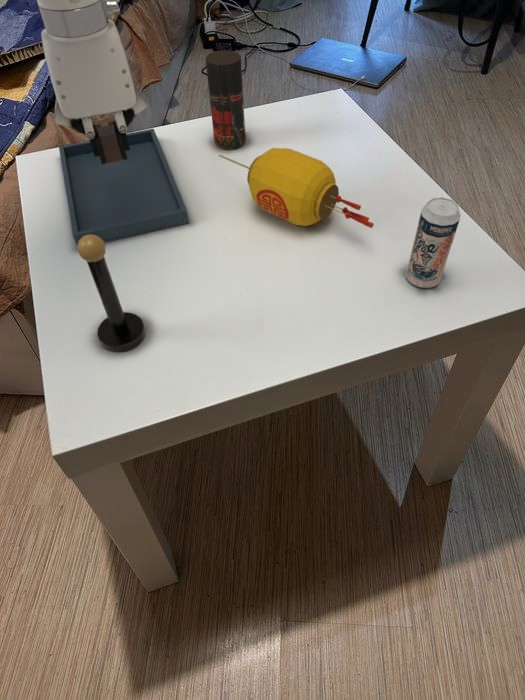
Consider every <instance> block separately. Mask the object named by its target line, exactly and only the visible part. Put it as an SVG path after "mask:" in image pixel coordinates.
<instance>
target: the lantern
mask: <svg viewBox="0 0 525 700" xmlns="http://www.w3.org/2000/svg"><path fill="white" fill-rule="evenodd" d="M218 157H220V158H222V159H224V160H226V161H228V162H231V163H234V164H236V165H238V166H241V167H243V168H245V169H248V171H247V179H246V180H247V185H248V186H249V192H250V195H251V198H252V201H253V202H255V203H256V204H257V205H258V206H259V207H260V208H261V209H262V210H264V212H267V213H269V214H271V215H273V216H274V217H278V218H280V219H282V220H284V221H286V222H288V223H291V224H293V225H295V226H303V227H307V226H312V225H314V224H316V223H318V222H320V221H321V220H324V219H327V218H328V217H329V216H330V215H331V214H332V213H333V211H336V212H338V213H340V214H343V215H344V217H345V218H346V219H347V220H348V219H352V220H354V221H355V222H358V223H359V224H362V225H364V226H365V227H367V228H369V229H372V228H373V227H374V225H375V224H374V222H371V221H369V220H370V217H368V216H365V215H363V214H360V213H357V212H354V211H353V210H352V211H351V210H349V209H348V207H347V206H349V207H350V208H352V209H355V210H357V211H360V210H361V208H362V205H361V204H358V203H355V202H353V201H349V200H347V199H343V198H342V196H341V195H339V187H338V185H337V183H336V177H335V174H334V171H333V170H332V169H331V167H329V166H328V165H327V164H326V163H325V162H323V161H322V160H321V159H318V158H315V157H312V156H310V155H308V154H305V153H302V152H299V151H297V150H295V149H292V148H286V147H284V148H283V147H271V148H270V149H268V150H267V151H265V152H264V153H262V154H260V155H258V156H256V158H254V159H253V161H252V163H251V164H250V166H247V165H246V164H243V163H242V162H241V163H240V162H238V161H236V160H234V159H231V158H229V157H227V156H224V155H222V154H219V155H218ZM339 203H343V204H345V205H347V206H345V207H343V208H341V207H339V206H337V204H339ZM338 209H339V210H338ZM340 210H341V211H340Z"/></svg>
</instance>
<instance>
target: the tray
mask: <svg viewBox="0 0 525 700" xmlns="http://www.w3.org/2000/svg"><path fill="white" fill-rule="evenodd" d="M126 135H127V140H128V144H129V148H130V150H128V151H126V155H127V160H124V159H123V160H121V161H116V162H111V163H106V164H102V162H101V159H100V156H98V157H95V156H94V152H93V149H92V146H91V142H90V140H85V141H80V142H74V143H70V144H69V143H68V144H64V145H59V146H58V150H59V156H60V163H61V168H62V175H63V182H64V188H65V194H66V201H67V207H68V213H69V218H70V224H71V231H72V237H73V240H74V241H75V245H76V246H77V245H78V242H79V240H80V239H81V238H82V237H83V236H85V235H90V234H91V235H96V236H98V237H100V238H101V239H102V240H103V241H104V243H106V242H107V243H108V242H112V241H116V240H120V239H125V238H129V237H134V236H138V235H143V234H147V233H152V232H156V231H161V230H165V229H169V228H174V227H178V226H182V225H187V224H190V220H189V215H188V210H187V207H186V204H185V202H184V199H183V197H182V195H181V192H180V189H179V187H178V185H177V183H176V180H175V177H174V175H173V173H172V171H171V168H170V165H169V163H168V160H167V158H166V155H165V153H164V150H163V148H162V146H161V143H160V140H159V139H158V136H157V132H156V130H155V129H154V128H149V129H144V130H143V129H142V130H139V131H133V132H126Z"/></svg>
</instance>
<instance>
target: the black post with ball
mask: <svg viewBox="0 0 525 700" xmlns="http://www.w3.org/2000/svg"><path fill="white" fill-rule="evenodd" d="M76 247H77V253H78V255H79V257H80V258H81V259H82V260H84V261H86V263H87V266H88V270H89V271H90V274H91V278H92V279H93V282H94V285H95V288H96V290H97V293H98V295H99V297H100V301H101V304H102V307H103V309H104V311H105V314H106V316H107V317H106V318H105V319H103V320H102V321H101V323H100V324H99V326H98V327H97V333H96V334H97V338H98V340H99V343H100V345H101V346H102V347H103V348H104V349H105V350H107V351H109V352H113V353H123V352H124V353H125V352H128V351H131V350H132V349H135V348H136V347H138V346H139V345H140V344H141V343H142V342H143V340H144V338H145V336H146V327H145V324H144V321H143V319H142V318H141V317H140V316H139V315H137V314H136V313H132V312H129V311H128V312H127V311H124V310H123V307H122V305H121V301H120V298H119V295H118V293H117V289H116V287H115V284H114V281H113V278H112V275H111V272H110V269H109V266H108V263H107V260H106V258H105V255H106V251H107V246H106V242H104V241H103V240H102V239H101V238H100V237H98V236H96V235H91V234H90V235H85V236H83V237H82V238H81V239H80V240H79V242H78V245H77V244H76Z"/></svg>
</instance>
